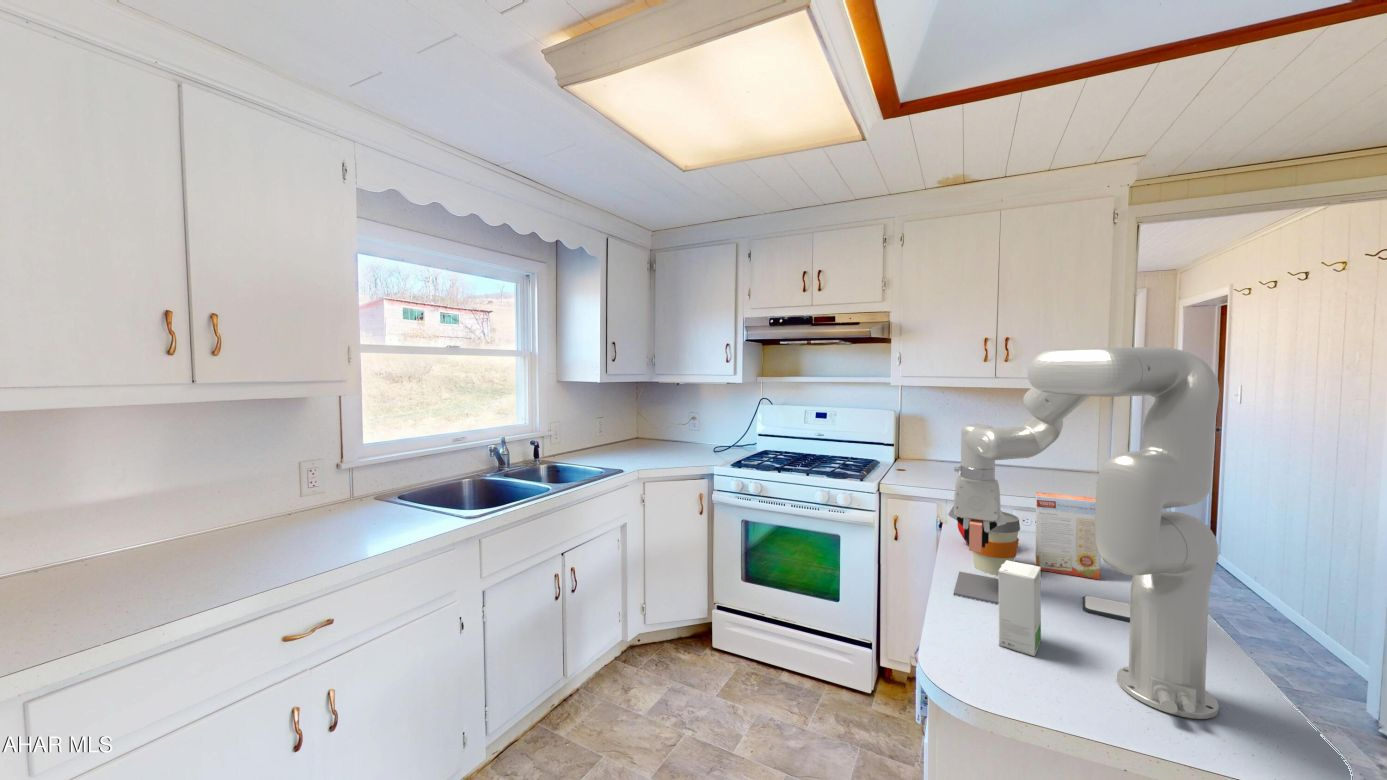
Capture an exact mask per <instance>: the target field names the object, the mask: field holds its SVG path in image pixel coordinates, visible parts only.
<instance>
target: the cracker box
mask: <svg viewBox="0 0 1387 780" xmlns="http://www.w3.org/2000/svg"><path fill="white" fill-rule="evenodd" d="M1035 493H1036V494H1035V566H1038V567H1041V571H1045V572H1050V573H1055V574H1056V573H1057V574H1063V575H1068V576H1073V577H1079V578H1080V577H1081V578H1085V579H1086V578H1087V579H1092V580H1101V563H1102V562H1101V561H1102V558H1101V556H1100V555H1099V553H1098V550H1097V548H1096V544H1095V538H1094V523H1095V505H1096V496H1095V497H1093V496H1083V495H1071V494H1065V493H1064V494H1063V493H1062V494H1061V493H1052V492H1051V493H1050V492H1041V491H1040V492H1039V491H1038V492H1035Z"/></svg>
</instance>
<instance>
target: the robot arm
mask: <svg viewBox="0 0 1387 780" xmlns="http://www.w3.org/2000/svg"><path fill="white" fill-rule="evenodd" d="M1027 379H1028V382H1029V383H1030V384H1031V386H1032V387H1030V389H1028V390H1027V392H1026V393H1025V394H1024V396H1023V399H1022V400H1023V401H1022V402H1023V406H1024V407H1025V409H1026V411H1027V412H1028V413H1029V414H1030V415H1031V416H1032V418H1031V419H1029V420H1028V421H1027V422H1025V424H1023V425H1021V426H1009V427H996V428H995V427H993V426H992V425H989V424H988V425H987V424H981V423H980V424H978V423H976V424H975V423H974V424H973V423H971V424H970V423H969V424H965V425H963V426H962V428H961V434H960V435H961V437H960V438H961V439H960V441H961V443H960V465H959V466H954V473H958V474H959V476H957V478H956V482H955V487H954V499H953V506H951V509H950V510H949V512H948V516H949V517H950V518H952V519H954V520H956V521H957V523H958V522H959V523H960V524H961V525H962V526H963V528H964V538H963V540H964V541H966V540H967V542H966V545H967V546H969V528H970V525H969V521H970V519H975V520H982V521H984V527H983V531H982V547H983V548H985V544H988V543H989V532H990V531H991V530H992V529H993V528H995V527H996V526H1000V525H1004V524H1006V519H1005V517H1004V515H1003V513H1002V512H1003V511H1002V510H1001V493H1000V492H1001V491H1000V485H999V480H998V479H996V461H1003V460H1007V461H1008V460H1013V459H1014V460H1017V459H1018V460H1019V459H1029V458H1033V457H1036V456H1037V455H1039V454H1041V453H1043V452H1044V451H1045V450H1046V449H1047V448H1049V447H1050V446H1051V445H1053V443H1055V442H1056V440H1058V438H1059V437H1060V436H1061V434H1062V429H1063V425H1064V419H1065V418H1066V417H1067V416H1068V415H1070V414H1071V413H1072V412H1073V411H1074V410H1075V409H1077V408H1078V407H1079V406H1081V405H1082V404H1083V402H1085V401H1087V399H1089V398H1090V397H1101V398H1102V397H1103V398H1113V397H1114V398H1115V397H1116V398H1117V397H1118V398H1119V397H1120V398H1122V397H1142V396H1150V397H1153V399H1154V402H1153V404H1152V405H1151V407H1150V408H1149V409H1148V412H1147V413H1146V415H1145V417H1144V421H1143V425H1142V442H1141V447H1140V450H1135V451H1134V450H1133V451H1125V452H1121V453H1117V454H1116V455H1113V456H1111V457H1110V458H1108V459H1107V460H1106V461H1105V462H1104V464H1103V465H1102V467H1100V468H1101V469H1100V470H1099V473H1098V475H1097V479H1096V480H1097V481H1096V488H1095V489H1096V492H1095V498H1096V505H1095V523H1094V538H1095V544H1096V548H1097V550H1098V553H1099V555H1100V556H1101V560H1102V561H1103V562H1104V563H1105V564H1106V565H1108V567H1110V568H1111V569H1113V570H1114V571H1116V572H1118V573H1122V574H1125V575H1128V576H1129V575H1130V576H1132V580H1131V585H1130V599H1129V601H1130V603H1129V604H1130V623H1129V646H1128V647H1129V649H1128V666H1124V667H1121V668H1120V669H1118V670H1117V671H1116V672H1117V673H1116V681H1117V684H1118V686H1120V687H1121V688H1122V690H1124V691H1125V693H1127V694H1129V695H1130V696H1131V697H1132V698H1134V699H1136V700H1137V701H1139V702H1141V703H1143V704H1145V705H1147V706H1149V707H1151V708H1154V709H1156V710H1159V711H1161V712H1164V713H1167V714H1171V715H1174V716H1179V717H1182V718H1187V719H1196V720H1208V719H1212V718H1214V717H1216V716H1218V714H1219V707H1220V706H1219V703H1218V701H1217V699H1216V698H1215V697H1214V696H1213V695H1212V694H1211V693H1210V692H1209V691H1208V690H1206V679H1207V678H1206V677H1207V676H1206V675H1207V650H1208V649H1207V648H1208V624H1209V623H1208V621H1209V620H1208V617H1209V600H1210V590H1211V583H1212V579H1213V575H1214V573H1215V569H1216V566H1217V561H1218V555H1219V546H1218V540H1217V538H1216V536H1215V534H1214V533H1213V530H1212V529H1211V528H1210V527H1209V526H1208V525H1207V524H1206V523H1205V522H1203V521H1202V520H1200V519H1199V518H1197V517H1195V516H1193V515H1191V514H1188V513H1185V512H1180V511H1179V512H1178V511H1171V510H1170V511H1165V510H1164V511H1163V509H1170V508H1171V509H1173V508H1181V507H1183V508H1184V507H1189V506H1192V505H1197V504H1199V503H1201V502H1202V501H1204V500H1206V499H1207V497H1208V495H1209V494H1210V492H1211V488H1212V487H1211V486H1212V478H1213V477H1212V476H1213V461H1214V458H1213V457H1214V447H1215V426H1216V425H1215V424H1216V420H1217V419H1216V417H1217V412H1218V406H1219V399H1220V387H1219V386H1220V385H1219V381H1218V380H1219V379H1218V378H1217V375H1216V373H1215V372H1214V370H1213V369H1212V367H1210V365H1209V364H1208V363H1207V362H1206V361H1205V360H1203V359H1202V358H1200V357H1198V356H1197V355H1195V354H1193V353H1191V352H1188V351H1185V350H1181V349H1178V348H1177V349H1176V348H1170V347H1162V346H1161V347H1159V346H1141V347H1140V346H1139V347H1137V346H1136V347H1135V346H1134V347H1100V348H1099V347H1097V348H1095V347H1094V348H1058V349H1057V348H1052V349H1047V350H1044V351H1043V352H1039V354H1037V355H1036V356H1034V358H1032V360H1031V361H1030V362H1029V365H1028V368H1027ZM1001 511H1002V512H1001Z"/></svg>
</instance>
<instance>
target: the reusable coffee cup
mask: <svg viewBox="0 0 1387 780" xmlns="http://www.w3.org/2000/svg"><path fill="white" fill-rule="evenodd" d="M1001 512H1002V513H1003V515H1004V517H1005V519H1006V524H1004V525H1000V526H996V527H995V528H993V529H992V530H991V531H990V532H989V543H988V544H985V548H983V547H982V551H981V552H975V551H971V552H972V558H973V559H972V560H973V563H974V564H973V565H974V568H975V569H976V568H977V570H978V571H980V572H982V573H985V574H988V573H989V575H993V574H994V575H995V576H999V569H1000V568H1001V567H1002V566H1001V565H1002V564H1004V563H1005V562H1006V560H1008V561H1013V562H1014V558H1015V557H1016V556H1017V552H1018V548H1019V547H1018V546H1019V540H1020V539H1019V537H1018V535H1019V532H1020V530H1021V525H1020V519H1019V517H1018V516H1017V515H1015V514H1012V513H1009V512H1006V511H1002V510H1001ZM970 520H971V519H970ZM969 525H970V521H969Z"/></svg>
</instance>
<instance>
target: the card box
mask: <svg viewBox="0 0 1387 780" xmlns="http://www.w3.org/2000/svg"><path fill="white" fill-rule="evenodd" d="M983 527H984V521H982V520H975V519H971V520H970V528H969V545H968V546H969V547H968V551H970V552H972V551H975V552H981V551H982V531H983Z"/></svg>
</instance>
